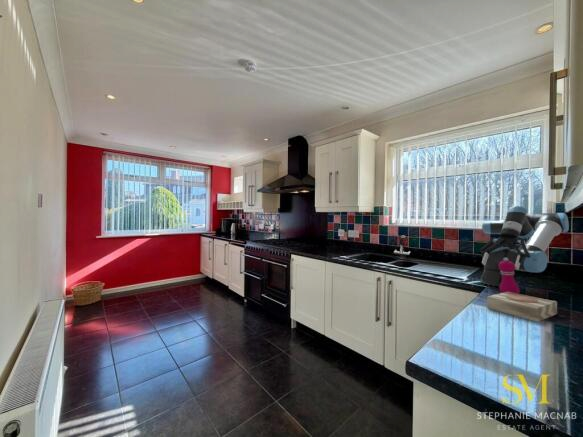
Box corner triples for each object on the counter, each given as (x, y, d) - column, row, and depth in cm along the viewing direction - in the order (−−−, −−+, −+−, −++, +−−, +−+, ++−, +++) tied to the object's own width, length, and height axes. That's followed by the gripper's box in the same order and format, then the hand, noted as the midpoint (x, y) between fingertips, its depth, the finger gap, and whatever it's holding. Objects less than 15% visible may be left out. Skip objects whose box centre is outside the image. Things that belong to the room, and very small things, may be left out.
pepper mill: (496, 298, 119) (492, 257, 119) (507, 295, 121) (502, 255, 121) (513, 302, 112) (508, 259, 112) (524, 299, 114) (519, 257, 114)
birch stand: (507, 302, 112) (507, 291, 112) (557, 314, 98) (556, 300, 98) (487, 308, 104) (487, 295, 104) (537, 321, 90) (537, 307, 90)
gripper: (480, 227, 138) (468, 258, 132) (540, 228, 116) (529, 266, 110) (485, 234, 141) (474, 265, 135) (545, 237, 118) (535, 274, 112)
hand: (499, 265), depth 122 cm, fingers open, 13 cm apart
